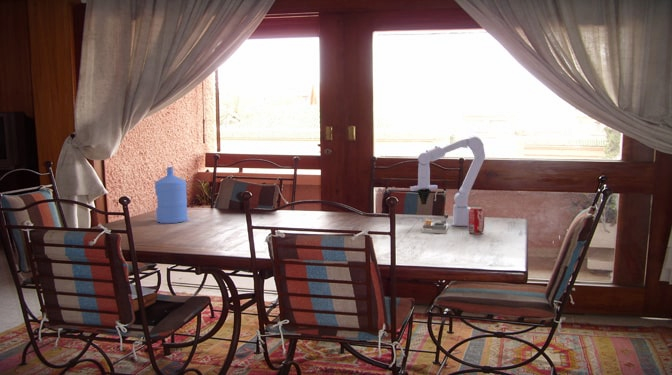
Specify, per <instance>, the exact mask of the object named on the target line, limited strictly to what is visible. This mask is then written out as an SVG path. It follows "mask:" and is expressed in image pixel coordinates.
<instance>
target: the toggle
mask: <svg viewBox="0 0 672 375" xmlns="http://www.w3.org/2000/svg"><path fill="white" fill-rule="evenodd" d="M448 218H449V215H448V214H447V213H446V214H444V216H443V219H442V220H443V221H446V222H447V220H448Z"/></svg>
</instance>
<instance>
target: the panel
mask: <svg viewBox="0 0 672 375" xmlns="http://www.w3.org/2000/svg"><path fill="white" fill-rule="evenodd" d="M443 220H444V219H442V220H441V221H440V222H441V223H444V226H437V225H435V223H436V221H433V222H431V226H428V225H426V221H425V222H424V224H423V225H422V229H421V233H424V234H425V233H428V234H429V233H430V234H447V231H448V229H449V223H447V220H446V221H443Z"/></svg>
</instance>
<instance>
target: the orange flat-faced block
mask: <svg viewBox="0 0 672 375" xmlns="http://www.w3.org/2000/svg"><path fill="white" fill-rule="evenodd" d="M425 222H426V225H428V226H431V223H432V219H425Z"/></svg>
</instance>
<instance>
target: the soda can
mask: <svg viewBox="0 0 672 375" xmlns="http://www.w3.org/2000/svg"><path fill="white" fill-rule="evenodd" d="M469 207H470V210H469V223H468V226H467V227H468V232H469V233H470V234H471V235H482V233H484V232H485V209H484V207H483V206H478V205H477V206H474V205H473V206H469Z"/></svg>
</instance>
